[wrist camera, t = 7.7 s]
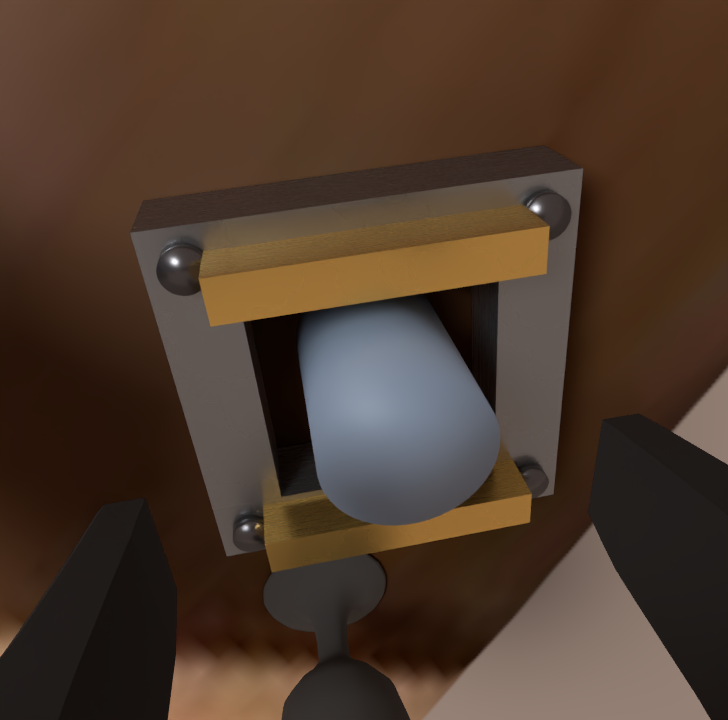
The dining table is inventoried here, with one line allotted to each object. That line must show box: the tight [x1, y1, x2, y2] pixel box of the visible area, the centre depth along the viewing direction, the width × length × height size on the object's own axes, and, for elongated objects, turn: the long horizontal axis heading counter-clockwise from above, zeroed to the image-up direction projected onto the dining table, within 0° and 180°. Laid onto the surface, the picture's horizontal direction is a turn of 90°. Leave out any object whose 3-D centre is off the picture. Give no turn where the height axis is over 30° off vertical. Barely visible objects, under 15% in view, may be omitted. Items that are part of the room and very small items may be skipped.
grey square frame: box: [130, 145, 583, 572], centre depth 19 cm, size 11×11×4 cm
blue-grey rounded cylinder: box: [296, 293, 500, 526], centre depth 18 cm, size 4×4×6 cm
